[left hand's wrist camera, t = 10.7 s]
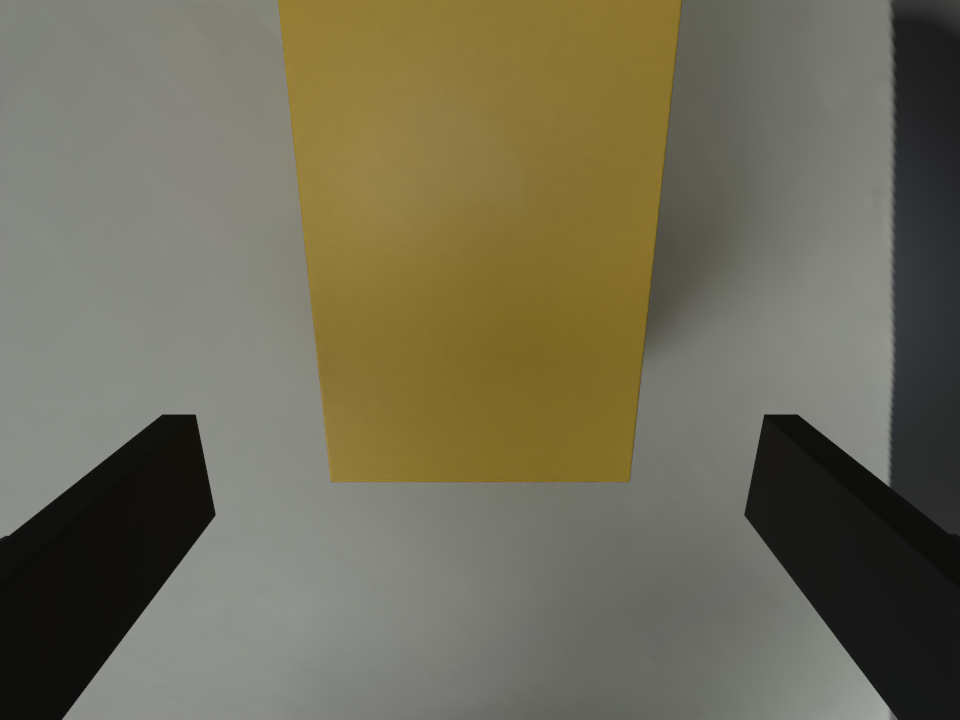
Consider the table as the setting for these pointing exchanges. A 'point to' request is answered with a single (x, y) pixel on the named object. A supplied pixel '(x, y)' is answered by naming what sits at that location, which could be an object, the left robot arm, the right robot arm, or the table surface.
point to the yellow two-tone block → (480, 228)
